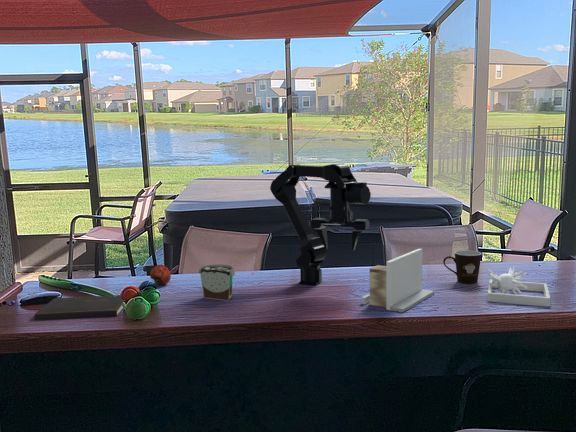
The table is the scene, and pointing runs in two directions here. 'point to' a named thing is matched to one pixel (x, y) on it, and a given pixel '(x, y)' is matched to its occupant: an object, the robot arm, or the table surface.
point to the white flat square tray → (522, 298)
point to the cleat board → (403, 282)
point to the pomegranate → (160, 275)
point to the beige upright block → (378, 286)
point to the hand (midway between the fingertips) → (339, 249)
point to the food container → (217, 281)
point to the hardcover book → (80, 307)
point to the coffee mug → (466, 266)
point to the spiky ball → (507, 281)
